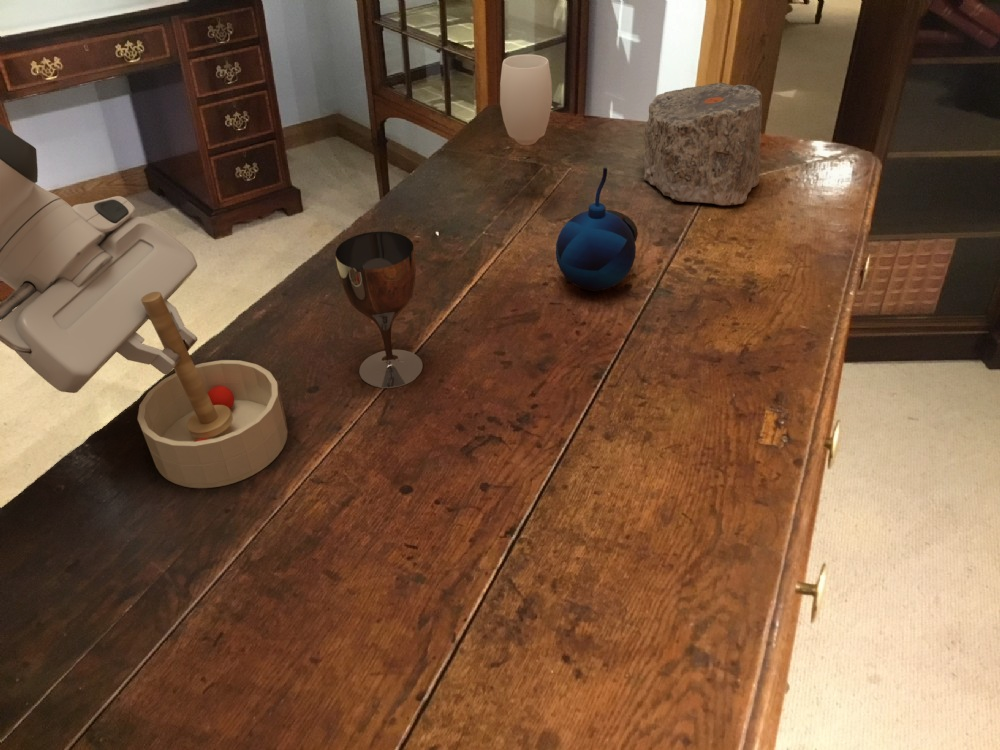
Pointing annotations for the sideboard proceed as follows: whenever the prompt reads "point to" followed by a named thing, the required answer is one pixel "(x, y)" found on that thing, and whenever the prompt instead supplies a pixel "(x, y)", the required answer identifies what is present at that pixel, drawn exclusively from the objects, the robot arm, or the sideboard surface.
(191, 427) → the stick
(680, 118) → the petrified wood
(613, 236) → the bomb
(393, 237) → the wine glass
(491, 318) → the sideboard surface
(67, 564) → the sideboard surface
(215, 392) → the tomato
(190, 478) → the bowl
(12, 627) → the sideboard surface
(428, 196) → the sideboard surface
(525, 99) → the cup
